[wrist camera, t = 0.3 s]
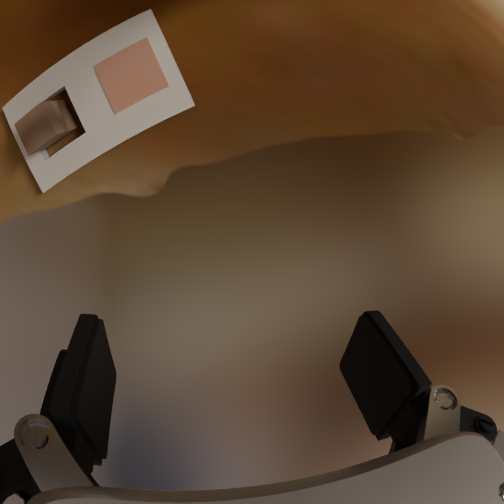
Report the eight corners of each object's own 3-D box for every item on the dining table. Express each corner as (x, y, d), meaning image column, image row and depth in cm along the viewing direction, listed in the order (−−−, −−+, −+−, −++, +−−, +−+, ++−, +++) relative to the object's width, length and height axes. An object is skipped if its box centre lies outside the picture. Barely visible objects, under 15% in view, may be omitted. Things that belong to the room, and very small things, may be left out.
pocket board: (8, 106, 31) (1, 107, 29) (152, 12, 30) (150, 8, 28) (48, 189, 39) (42, 193, 37) (195, 105, 38) (194, 105, 36)
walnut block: (40, 118, 33) (14, 124, 26) (65, 99, 33) (41, 101, 26) (53, 144, 36) (28, 155, 29) (78, 127, 36) (56, 134, 29)
